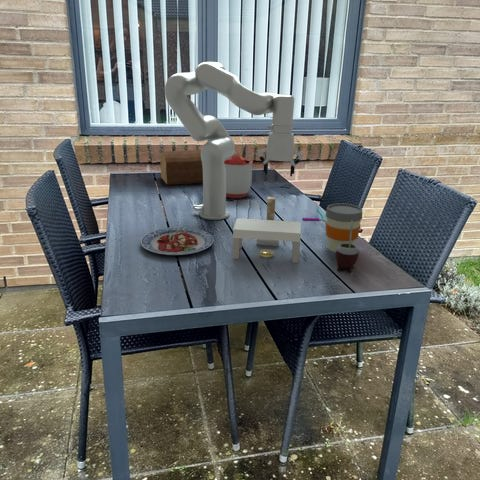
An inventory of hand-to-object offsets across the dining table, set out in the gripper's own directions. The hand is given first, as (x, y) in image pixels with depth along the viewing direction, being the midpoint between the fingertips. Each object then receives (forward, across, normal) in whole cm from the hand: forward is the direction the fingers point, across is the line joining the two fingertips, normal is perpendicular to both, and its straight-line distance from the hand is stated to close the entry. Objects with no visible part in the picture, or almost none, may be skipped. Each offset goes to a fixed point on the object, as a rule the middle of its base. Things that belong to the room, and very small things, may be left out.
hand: (278, 174), depth 180 cm
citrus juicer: (+22, -22, +40) cm, 50 cm away
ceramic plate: (+22, -33, -27) cm, 48 cm away
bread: (+22, -51, +62) cm, 84 cm away
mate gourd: (+21, +26, -35) cm, 48 cm away
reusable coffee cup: (+21, +25, -18) cm, 37 cm away
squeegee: (+22, +16, +10) cm, 29 cm away
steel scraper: (+21, -1, -10) cm, 24 cm away
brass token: (+21, 0, -29) cm, 36 cm away
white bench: (+21, 0, -29) cm, 36 cm away
